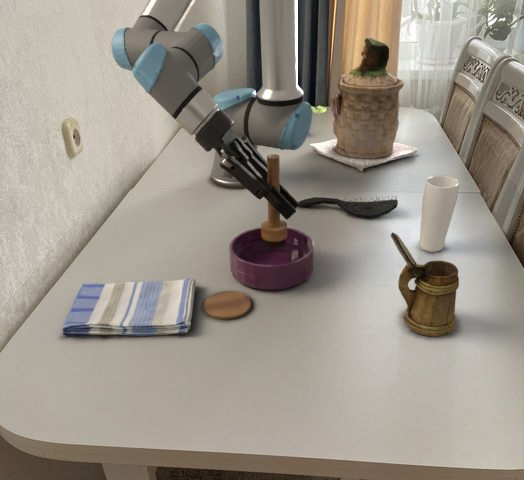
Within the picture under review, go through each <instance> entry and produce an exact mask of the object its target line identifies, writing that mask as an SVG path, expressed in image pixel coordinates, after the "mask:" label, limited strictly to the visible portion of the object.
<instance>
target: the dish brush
mask: <svg viewBox="0 0 524 480" xmlns="http://www.w3.org/2000/svg"><path fill="white" fill-rule="evenodd" d="M280 160H281V159H280V155H279V154H277V153H275V154H274V153H273V154H272V153H271V154H268V155H267V156H266V161H267V183H268V184H269V185H270V186H271V188H273V187H275V188H276V189H277V190H278V191H279V192H280V184H281V176H280V175H281V173H280V172H281V167H280V164H281V163H280ZM260 227H261V237H262V242H263V245H264V246H266V247H269V248H279V247H282V246H284V245H285V244H286V238H287V228H288V223H287V221H285V220H284V219H283V220H282V219H281V214H280V213H279V212H278V211H277V210H276V209H275V208H274V207H273V206H272V205H271V204H270V203H269V202H268V201H267V220H264V221H263V222H261V224H260Z"/></svg>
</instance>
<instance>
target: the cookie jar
mask: <svg viewBox="0 0 524 480" xmlns="http://www.w3.org/2000/svg"><path fill="white" fill-rule="evenodd" d="M360 55H361V56H362V59H361V62H360V64H359V65H358V66H356V67H355V68H353V69H352V70H351V71H349V73H347V75H345V74H342V75H341V76H340V77H339V80H338V83H337V88H338V90H339V93H336V94H335V95H334V97H331V98H330V100H329V106H330V108H331V113H332V116H333V119H334V120H333V124H332V125H333V127H332V128H333V129H332V131H333V134H334V135H335V137H336V138H333V139H330V140H326V141H322V142H315V143H310V144H309V146H310V147H312V148H313V149H314V150H315V152H317V153H318V154H319V155H321V156H324V157H326V158H329V159H332V160H335V161H337V162H340V163H342V164H345V165H347V166H350V167H352V168H355V169H357V170H358V171H360V172H363V171H364V169H367V168H369V167H374V166H379V165H381V164H385V163H388V162H391V161H395V160H399V159H403V158H408V157H409V158H410V157H414V156H416V154H417V152H418V148H417V147H414V146H410V145H407V144H402V143H400V142H396V141H395V140H396V138H397V133H398V129H399V126H400V120H399V118H400V117H399V116H400V91H401V90H402V89H403V88H404V86H405V81H403V79H401V78H398V77H395V76H394V75H392V74H391V73H389V72H388V71H387V67H388V63H389V59H390V47H389V46H388V45H387V44H386V43H385V42H381V41H380V40H377V39H374V38H372V37H366V38H365V39H364V46H363V48H362V50H361V53H360Z"/></svg>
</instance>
